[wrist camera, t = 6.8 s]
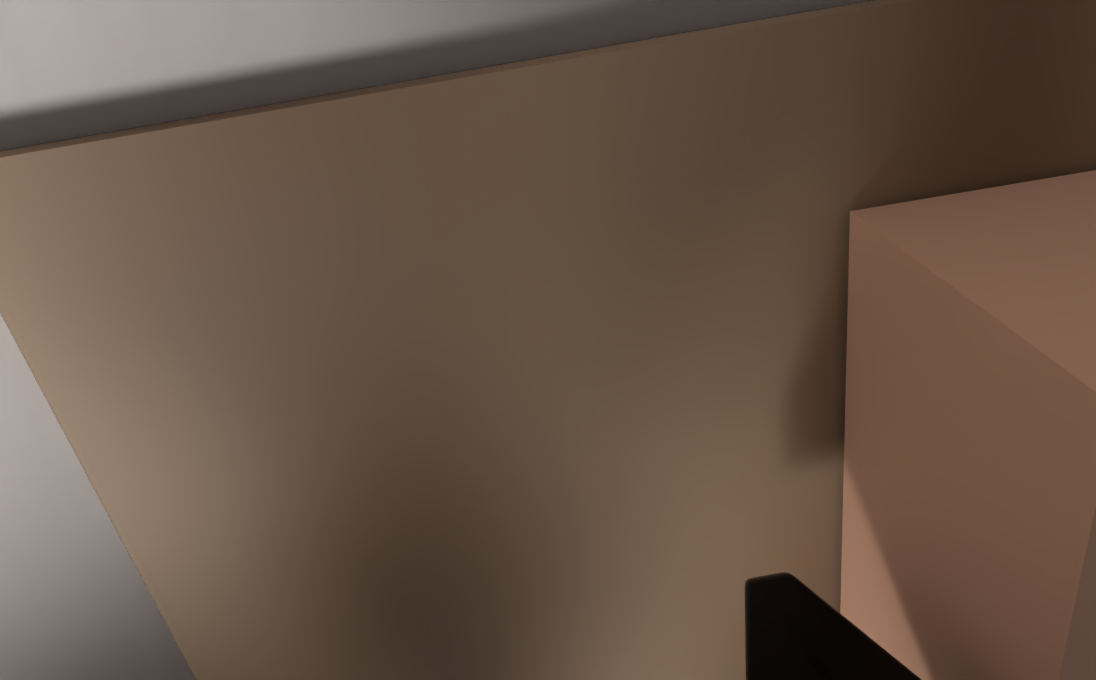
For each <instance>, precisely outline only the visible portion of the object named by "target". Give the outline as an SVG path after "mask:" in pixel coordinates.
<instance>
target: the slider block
mask: <svg viewBox="0 0 1096 680" xmlns="http://www.w3.org/2000/svg"><path fill="white" fill-rule="evenodd" d="M840 614H842V615H843V616H844V617H845V618H847V619H848V620H849V621H850V622H851V623H853V624H854V625H855V626H856V627H858V628H859V629H860V630H861V631H863V632H864V633H865V634H866V635H867V636H869V637H870V638H871V639H872V640H874V641H875V642H876V643H877V644H879V645H880V646H881V647H882V648H883V649H885V650H886V651H887V652H888V653H890V654H891V655H892V656H893V657H895V658H896V659H897V660H898V661H899V662H901V663H902V664H903V665H904V666H906V667H907V668H908V669H909V670H910V671H912V672H913V673H914V674H915V675H917V676H918V677H919V678H920V679H922V680H1096V170H1094V171H1088V172H1082V173H1076V174H1070V175H1064V176H1058V177H1052V178H1046V179H1040V180H1034V181H1028V182H1022V183H1016V184H1010V185H1004V186H998V187H992V188H986V189H980V190H974V191H968V192H962V193H956V194H950V195H944V196H938V197H932V198H926V199H920V200H914V201H908V202H902V203H896V204H890V205H884V206H878V207H872V208H866V209H860V210H854V211H850V230H849V271H848V313H847V355H846V396H845V438H844V480H843V521H842V563H841V604H840Z"/></svg>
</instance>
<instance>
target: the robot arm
mask: <svg viewBox="0 0 1096 680" xmlns="http://www.w3.org/2000/svg"><path fill="white" fill-rule="evenodd" d="M745 670H746V680H922V679H920V678H919V677H918V676H917V675H915V674H914V673H913V672H912V671H910V670H909V669H908V668H907V667H906V666H904V665H903V664H902V663H901V662H899V661H898V660H897V659H896V658H895V657H893V656H892V655H891V654H890V653H888V652H887V651H886V650H885V649H883V648H882V647H881V646H880V645H879V644H877V643H876V642H875V641H874V640H872V639H871V638H870V637H869V636H867V635H866V634H865V633H864V632H863V631H861V630H860V629H859V628H858V627H856V626H855V625H854V624H853V623H851V622H850V621H849V620H848V619H847V618H845V617H844V616H843V615H842V614H840V613H839V612H838V611H837V610H835V609H834V608H833V607H832V606H831V605H829V604H828V603H827V602H826V601H824V600H823V599H822V598H821V597H820V596H818V595H817V594H816V593H815V592H813V591H812V590H811V589H810V588H808V587H807V586H806V585H805V584H804V583H802V582H801V581H800V580H799V579H797V578H796V577H795V576H794V575H792V574H790V573H787V572H781V573H775V574H770V575H764V576H759V577H753V578H749V579H747V580H746V581H745Z"/></svg>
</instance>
